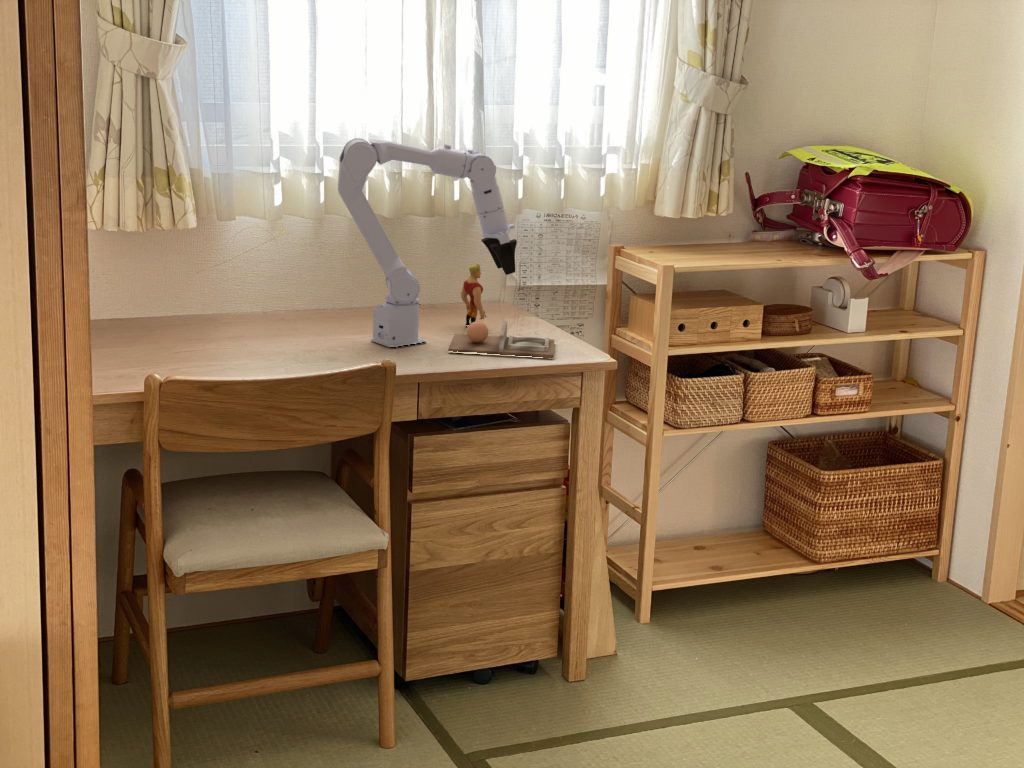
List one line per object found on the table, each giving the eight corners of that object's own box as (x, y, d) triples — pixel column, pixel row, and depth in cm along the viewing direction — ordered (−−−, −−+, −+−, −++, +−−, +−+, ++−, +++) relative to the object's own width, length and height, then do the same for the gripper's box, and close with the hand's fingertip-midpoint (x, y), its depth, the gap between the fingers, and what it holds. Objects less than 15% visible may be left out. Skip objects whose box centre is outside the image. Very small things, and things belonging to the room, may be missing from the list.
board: (448, 353, 251) (448, 332, 249) (454, 338, 264) (455, 318, 263) (553, 359, 250) (554, 338, 249) (554, 343, 263) (555, 323, 262)
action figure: (488, 332, 271) (491, 267, 267) (474, 333, 269) (476, 267, 265) (472, 323, 279) (474, 259, 275) (458, 324, 278) (460, 260, 274)
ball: (475, 346, 254) (476, 324, 253) (462, 341, 257) (462, 320, 256) (492, 343, 257) (493, 322, 256) (478, 339, 260) (479, 318, 259)
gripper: (516, 208, 248) (532, 270, 253) (500, 200, 262) (516, 259, 266) (484, 218, 247) (500, 280, 252) (470, 209, 261) (486, 268, 265)
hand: (506, 270), depth 259 cm, fingers open, 7 cm apart
